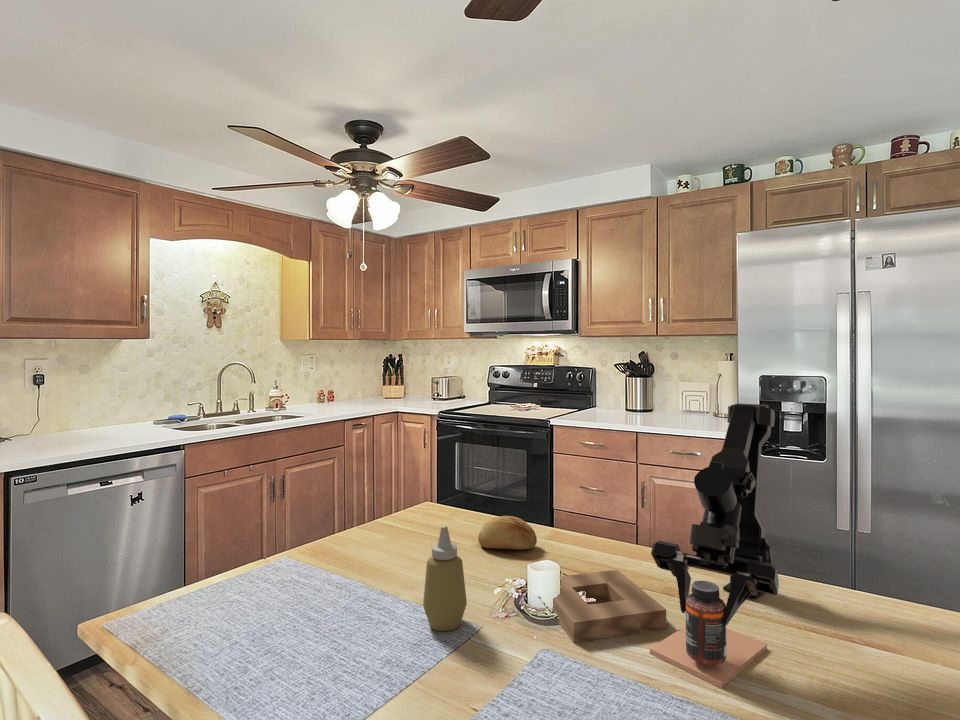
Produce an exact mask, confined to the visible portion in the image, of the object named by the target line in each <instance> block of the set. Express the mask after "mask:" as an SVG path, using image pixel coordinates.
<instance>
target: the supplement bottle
mask: <svg viewBox="0 0 960 720" xmlns="http://www.w3.org/2000/svg"><path fill="white" fill-rule="evenodd" d="M725 608H726V604H725V601H724V600H723V599H722V598H721V597H720V588H719V586H718V585H717V584H716V583H714V582H713V581H712V582H710V581H708V580H696V581H694V582H692V583H691V593H690V594H689V596H688V597H687V598H686V611H685V626H686V651H687V654H688V655H689V656H690V657H691V658H692V659H693V660H695V661H697V662H699V663H702V664H705V665H719V664H722V663H723V662H724V661H725V660H726V628H727V625H725V624H724V623H723V620H724V612H725Z"/></svg>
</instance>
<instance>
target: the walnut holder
mask: <svg viewBox="0 0 960 720" xmlns="http://www.w3.org/2000/svg"><path fill="white" fill-rule="evenodd" d="M580 591H585V592H586V597H587V598H594V599H596V602H601V603H596V602H595V603H592V604H589V603H586V602H585V601H584V600H583V599H582V598H581V596H580V595H579V594H578V593H577V592H580ZM603 601H607V602H603ZM553 608H554V611H555V613H556V614H557V615H558V616H559V620H560V621H559V623H558V624H559V626H560V627H561V629H563V631H564V632H565V633H566V635H567V636H568V638H569V639H570V640H571V641H572V643H573V644H575V643H580V642H588V641H594V640H601V639H607V638H608V639H609V638H614V637H615V638H616V637H621V636H626V635H628V636H629V635H634V634H641V633H647V632H648V633H649V632H654V631H660V630H661V631H662V630H666V629H667V609H666V608H665V607H664V606H663V605H662V604H660V603H659V602H658V601H656V599H654V598H653V597H652V596H651V595H649V594H648V593H647V592H646V591H645V590H643V589H642V588H640V587H639V586H638V585H637V584H636V583H635V582H633V581H632V580H631V579H630V578H628V577H627V576H626V575H625V574H623V572H621V571H620V570H618V569H612V570H605V571H603V570H602V571H596V572H594V571H593V572H587V573H585V572H584V573H579V574H577V573H576V574H570V575H569V574H568V575H561V591H560V594H559V595H558V596H557V597H555V598H553Z"/></svg>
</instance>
